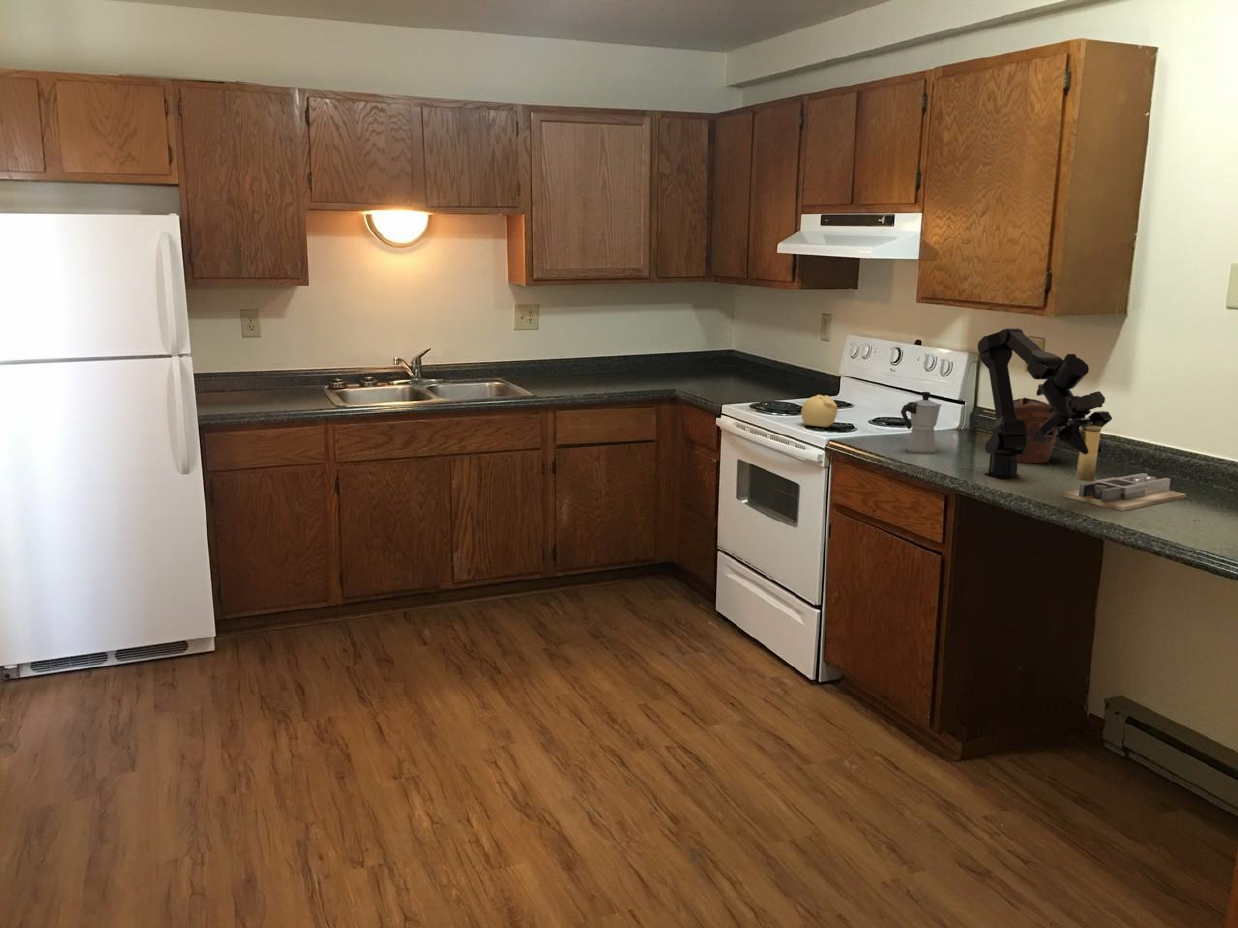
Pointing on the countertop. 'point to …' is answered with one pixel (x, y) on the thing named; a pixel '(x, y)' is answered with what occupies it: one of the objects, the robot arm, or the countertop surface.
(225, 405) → the countertop surface
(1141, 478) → the grey slotted tray
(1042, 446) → the reddish brown pot
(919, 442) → the coffee maker
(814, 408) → the tan round lump
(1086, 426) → the pin
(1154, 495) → the board
